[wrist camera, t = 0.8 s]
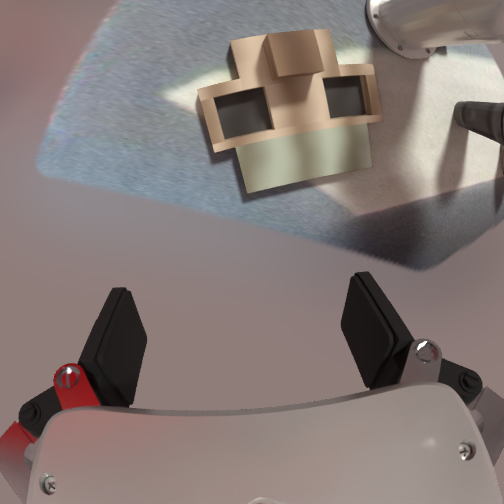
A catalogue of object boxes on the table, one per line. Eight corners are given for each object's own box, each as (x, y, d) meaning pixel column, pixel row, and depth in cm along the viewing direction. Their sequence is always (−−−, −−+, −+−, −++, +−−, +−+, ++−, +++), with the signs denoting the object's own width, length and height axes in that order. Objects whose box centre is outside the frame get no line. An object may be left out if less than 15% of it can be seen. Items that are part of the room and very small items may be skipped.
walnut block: (303, 37, 24) (313, 29, 21) (313, 74, 27) (324, 70, 23) (262, 42, 25) (267, 34, 21) (272, 80, 27) (278, 76, 24)
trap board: (357, 32, 25) (364, 29, 24) (380, 161, 35) (387, 164, 33) (189, 55, 26) (187, 52, 24) (227, 193, 36) (227, 198, 34)
